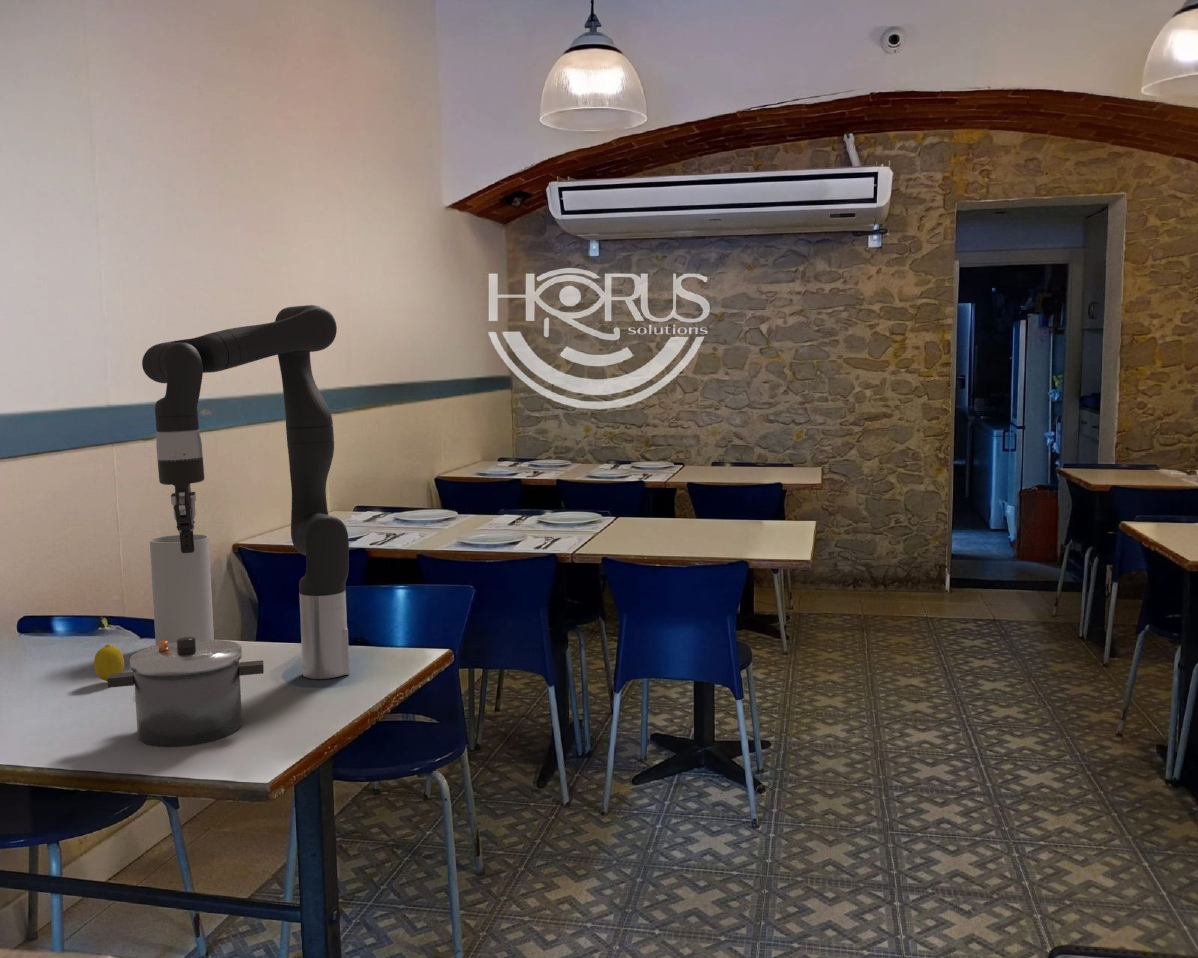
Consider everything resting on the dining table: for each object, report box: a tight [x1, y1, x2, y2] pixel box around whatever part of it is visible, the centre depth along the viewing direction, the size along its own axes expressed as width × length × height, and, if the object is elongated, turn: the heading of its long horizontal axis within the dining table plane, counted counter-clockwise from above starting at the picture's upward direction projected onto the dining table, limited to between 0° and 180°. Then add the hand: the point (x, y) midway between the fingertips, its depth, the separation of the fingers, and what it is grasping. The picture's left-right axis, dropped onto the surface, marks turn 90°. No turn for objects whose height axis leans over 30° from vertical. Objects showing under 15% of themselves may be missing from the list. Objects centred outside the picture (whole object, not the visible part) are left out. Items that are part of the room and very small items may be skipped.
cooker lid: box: [129, 637, 243, 676], centre depth 179 cm, size 18×18×4 cm
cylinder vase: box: [149, 533, 215, 646], centre depth 238 cm, size 12×12×25 cm
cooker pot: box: [107, 659, 265, 748], centre depth 181 cm, size 25×18×12 cm
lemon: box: [93, 643, 125, 683], centre depth 209 cm, size 6×6×8 cm
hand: (188, 552), depth 186 cm, fingers closed
